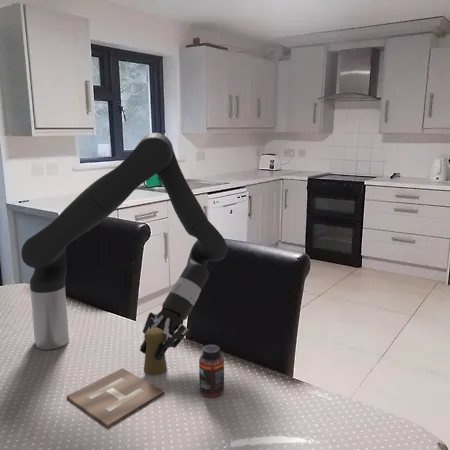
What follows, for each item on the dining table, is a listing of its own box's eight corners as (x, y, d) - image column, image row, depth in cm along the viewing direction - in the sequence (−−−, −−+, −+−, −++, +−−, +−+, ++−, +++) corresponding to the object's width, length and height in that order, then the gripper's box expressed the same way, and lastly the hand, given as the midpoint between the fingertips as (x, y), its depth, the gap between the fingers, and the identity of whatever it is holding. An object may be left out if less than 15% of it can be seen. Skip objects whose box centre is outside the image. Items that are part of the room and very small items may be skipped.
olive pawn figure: (162, 376, 111) (161, 336, 108) (140, 373, 112) (138, 334, 109) (170, 364, 116) (169, 326, 114) (148, 361, 118) (147, 324, 115)
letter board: (66, 398, 101) (66, 395, 101) (122, 370, 113) (122, 368, 113) (107, 427, 91) (107, 425, 91) (164, 393, 103) (164, 391, 103)
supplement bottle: (227, 387, 106) (227, 344, 104) (219, 401, 101) (219, 356, 98) (204, 382, 108) (204, 340, 106) (195, 395, 103) (195, 352, 100)
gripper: (156, 285, 120) (123, 341, 114) (194, 298, 111) (160, 359, 105) (171, 298, 125) (139, 352, 119) (208, 311, 116) (176, 370, 110)
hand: (149, 355), depth 112 cm, fingers closed on olive pawn figure, 4 cm apart
